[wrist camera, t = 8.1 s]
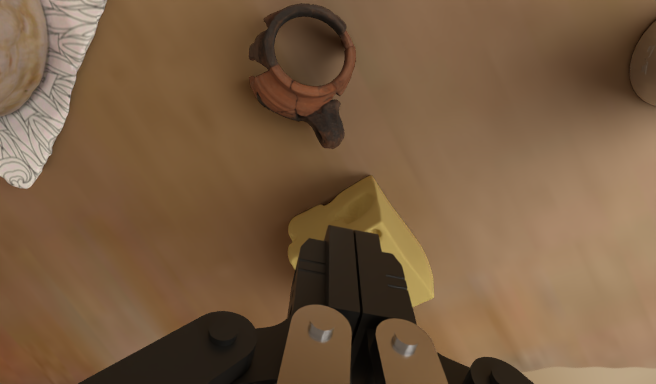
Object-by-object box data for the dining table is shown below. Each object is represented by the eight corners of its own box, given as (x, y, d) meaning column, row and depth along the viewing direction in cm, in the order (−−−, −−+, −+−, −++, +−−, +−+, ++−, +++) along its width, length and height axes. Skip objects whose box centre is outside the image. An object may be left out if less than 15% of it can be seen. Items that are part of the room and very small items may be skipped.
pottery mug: (224, 59, 39) (227, 24, 31) (310, 14, 41) (332, -30, 33) (293, 171, 40) (312, 165, 32) (371, 122, 42) (408, 105, 35)
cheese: (289, 217, 46) (278, 274, 37) (375, 167, 43) (386, 216, 34) (340, 282, 50) (342, 348, 41) (422, 239, 47) (444, 300, 38)
